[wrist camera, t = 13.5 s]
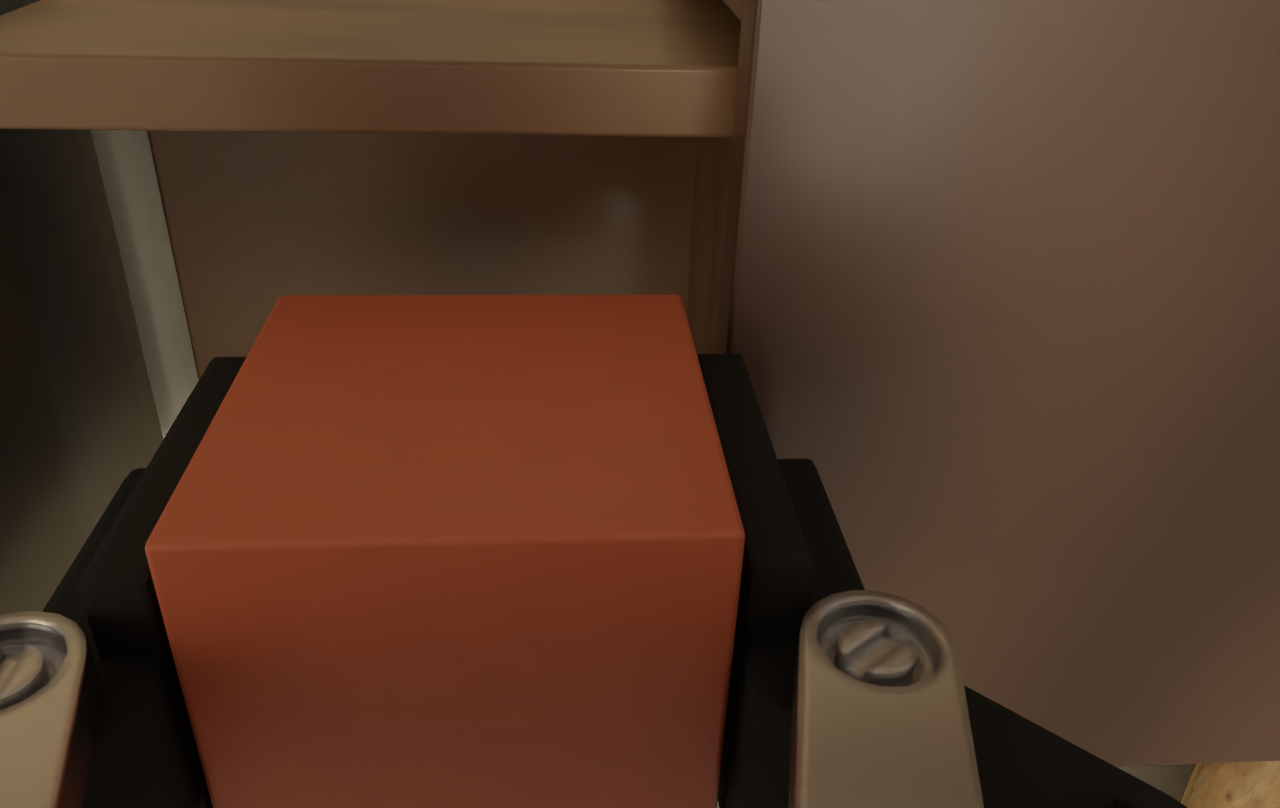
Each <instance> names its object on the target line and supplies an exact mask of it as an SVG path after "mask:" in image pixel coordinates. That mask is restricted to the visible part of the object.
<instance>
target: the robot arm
mask: <svg viewBox="0 0 1280 808" xmlns="http://www.w3.org/2000/svg"><path fill="white" fill-rule="evenodd" d="M697 357H698V360H699V364H700V368H701V371H702V375H703V379H704V383H705V386H706V390H707V394H708V398H709V401H710V405H711V409H712V412H713V416H714V420H715V424H716V427H717V431H718V435H719V439H720V442H721V446H722V450H723V454H724V457H725V461H726V465H727V468H728V472H729V476H730V480H731V483H732V487H733V491H734V495H735V498H736V502H737V506H738V509H739V513H740V517H741V521H742V524H743V528H744V532H745V544H744V554H743V563H742V572H741V582H740V591H739V601H738V610H737V620H736V629H735V638H734V648H733V657H732V667H731V676H730V685H729V695H728V704H727V714H726V723H725V732H724V742H723V751H722V761H721V770H720V780H719V789H718V802H719V808H1188V807H1186V806H1185V805H1183V804H1181V803H1180V802H1178V801H1177V800H1175V799H1174V798H1172V797H1171V796H1169V795H1167V794H1166V793H1164V792H1162V791H1160V790H1158V789H1156V788H1154V787H1153V786H1151V785H1149V784H1147V783H1145V782H1143V781H1141V780H1139V779H1138V778H1136V777H1134V776H1132V775H1130V774H1128V773H1126V772H1125V771H1123V770H1121V769H1119V768H1117V767H1115V766H1113V765H1112V764H1110V763H1108V762H1106V761H1104V760H1102V759H1100V758H1099V757H1097V756H1095V755H1093V754H1091V753H1089V752H1087V751H1086V750H1084V749H1082V748H1080V747H1078V746H1076V745H1074V744H1073V743H1071V742H1069V741H1067V740H1065V739H1063V738H1061V737H1060V736H1058V735H1056V734H1054V733H1052V732H1050V731H1048V730H1047V729H1045V728H1043V727H1041V726H1039V725H1037V724H1035V723H1034V722H1032V721H1030V720H1028V719H1026V718H1024V717H1022V716H1020V715H1019V714H1017V713H1015V712H1013V711H1011V710H1009V709H1007V708H1006V707H1004V706H1002V705H1000V704H998V703H996V702H994V701H993V700H991V699H989V698H987V697H985V696H983V695H981V694H980V693H978V692H976V691H974V690H972V689H970V688H968V687H967V686H965V685H964V682H963V676H962V670H961V664H960V658H959V652H958V649H957V647H956V644H955V641H954V639H953V636H952V634H951V633H950V632H949V630H948V629H947V628H946V627H945V626H944V625H943V623H942V622H941V621H940V620H939V619H938V618H937V617H936V616H934V615H933V614H931V613H930V612H929V611H927V610H926V609H924V608H923V607H922V606H920V605H918V604H916V603H913V602H911V601H909V600H907V599H904V598H902V597H900V596H897V595H892V594H888V593H883V592H879V591H869V590H865V589H864V586H863V584H862V581H861V579H860V576H859V574H858V571H857V569H856V566H855V564H854V561H853V559H852V556H851V554H850V551H849V549H848V546H847V544H846V541H845V539H844V536H843V534H842V531H841V528H840V526H839V523H838V521H837V518H836V516H835V513H834V511H833V508H832V506H831V503H830V501H829V498H828V496H827V493H826V491H825V488H824V486H823V483H822V481H821V478H820V476H819V473H818V471H817V468H816V466H815V465H814V463H813V461H812V460H810V459H808V458H800V459H777V457H776V454H775V451H774V448H773V445H772V442H771V439H770V436H769V433H768V430H767V428H766V425H765V422H764V419H763V416H762V413H761V410H760V407H759V404H758V401H757V399H756V396H755V393H754V390H753V387H752V384H751V381H750V378H749V375H748V372H747V370H746V367H745V364H744V361H743V358H742V356H741V354H697ZM245 359H246V357H214V358H213V359H212V360H211V361H210V363H209V365H208V366H207V368H206V370H205V371H204V373H203V375H202V376H201V378H200V380H199V381H198V383H197V385H196V386H195V388H194V390H193V391H192V393H191V395H190V396H189V398H188V400H187V401H186V403H185V405H184V406H183V408H182V410H181V411H180V413H179V415H178V416H177V418H176V420H175V421H174V423H173V425H172V426H171V428H170V430H169V431H168V433H167V435H166V436H165V438H164V440H163V441H162V443H161V445H160V446H159V448H158V450H157V451H156V453H155V455H154V456H153V458H152V460H151V461H150V463H149V465H148V466H147V468H138V469H135V470H132V471H131V472H130V473H129V474H128V476H127V477H126V478H125V479H124V481H123V482H122V484H121V486H120V487H119V489H118V490H117V492H116V494H115V495H114V497H113V499H112V500H111V502H110V503H109V505H108V507H107V508H106V510H105V511H104V513H103V515H102V516H101V518H100V519H99V521H98V523H97V524H96V526H95V527H94V529H93V531H92V532H91V534H90V535H89V537H88V539H87V540H86V542H85V543H84V545H83V547H82V548H81V550H80V551H79V553H78V555H77V556H76V558H75V560H74V561H73V563H72V564H71V566H70V568H69V569H68V571H67V572H66V574H65V576H64V577H63V579H62V580H61V582H60V584H59V585H58V587H57V588H56V590H55V592H54V593H53V595H52V596H51V598H50V600H49V601H48V603H47V604H46V606H45V608H44V609H43V611H27V612H12V613H7V614H3V615H0V808H213V806H212V802H211V798H210V795H209V791H208V787H207V783H206V779H205V776H204V772H203V768H202V764H201V761H200V757H199V753H198V749H197V745H196V742H195V738H194V734H193V730H192V726H191V723H190V719H189V715H188V711H187V708H186V704H185V700H184V696H183V692H182V689H181V685H180V681H179V677H178V674H177V670H176V666H175V662H174V658H173V655H172V651H171V647H170V643H169V639H168V636H167V632H166V628H165V624H164V621H163V617H162V613H161V609H160V605H159V602H158V598H157V594H156V590H155V586H154V583H153V579H152V575H151V571H150V568H149V564H148V560H147V556H146V552H145V545H146V542H147V540H148V538H149V537H150V535H151V533H152V531H153V529H154V527H155V526H156V524H157V522H158V520H159V518H160V516H161V514H162V513H163V511H164V509H165V507H166V505H167V503H168V502H169V500H170V498H171V496H172V494H173V492H174V490H175V489H176V487H177V485H178V483H179V481H180V479H181V477H182V476H183V474H184V472H185V470H186V468H187V466H188V465H189V463H190V461H191V459H192V457H193V455H194V453H195V452H196V450H197V448H198V446H199V444H200V442H201V440H202V439H203V437H204V435H205V433H206V431H207V429H208V428H209V426H210V424H211V422H212V420H213V418H214V416H215V415H216V413H217V411H218V409H219V407H220V405H221V404H222V402H223V400H224V398H225V396H226V394H227V392H228V391H229V389H230V387H231V385H232V383H233V381H234V379H235V378H236V376H237V374H238V372H239V370H240V368H241V367H242V365H243V363H244V361H245Z"/></svg>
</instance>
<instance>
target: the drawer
mask: <svg viewBox="0 0 1280 808" xmlns="http://www.w3.org/2000/svg"><path fill="white" fill-rule="evenodd" d="M740 32H741V21H740V20H739V19H738V18H737V17H736V15H735V14H734V13H733V12H732V11H731V10H730V9H729V7H728V6H727V5H726V4H725V3H724V2H723V1H722V0H0V615H3V614H7V613H12V612H27V611H43V609H44V608H45V606H46V604H47V603H48V601H49V600H50V598H51V596H52V595H53V593H54V592H55V590H56V588H57V587H58V585H59V584H60V582H61V580H62V579H63V577H64V576H65V574H66V572H67V571H68V569H69V568H70V566H71V564H72V563H73V561H74V560H75V558H76V556H77V555H78V553H79V551H80V550H81V548H82V547H83V545H84V543H85V542H86V540H87V539H88V537H89V535H90V534H91V532H92V531H93V529H94V527H95V526H96V524H97V523H98V521H99V519H100V518H101V516H102V515H103V513H104V511H105V510H106V508H107V507H108V505H109V503H110V502H111V500H112V499H113V497H114V495H115V494H116V492H117V490H118V489H119V487H120V486H121V484H122V482H123V481H124V479H125V478H126V477H127V476H128V474H129V473H130V472H131V471H132V470H135V469H138V468H147V466H148V465H149V463H150V461H151V460H152V458H153V456H154V455H155V453H156V451H157V450H158V448H159V446H160V445H161V443H162V441H163V436H162V432H161V428H160V423H159V419H158V415H157V410H156V406H155V402H154V398H153V393H152V389H151V385H150V381H149V376H148V372H147V368H146V364H145V359H144V355H143V351H142V346H141V342H140V338H139V334H138V329H137V325H136V321H135V317H134V312H133V308H132V304H131V300H130V295H129V291H128V287H127V282H126V278H125V274H124V270H123V265H122V261H121V257H120V253H119V248H118V244H117V240H116V236H115V231H114V227H113V223H112V218H111V214H110V210H109V206H108V201H107V197H106V193H105V189H104V184H103V180H102V176H101V172H100V167H99V163H98V159H97V154H96V150H95V146H94V142H93V137H92V133H91V130H142V131H147V133H148V137H149V142H150V147H151V152H152V157H153V162H154V166H155V171H156V176H157V181H158V186H159V191H160V195H161V200H162V205H163V210H164V215H165V220H166V224H167V229H168V234H169V239H170V244H171V249H172V253H173V258H174V263H175V268H176V273H177V277H178V282H179V287H180V292H181V297H182V302H183V306H184V311H185V316H186V321H187V326H188V331H189V335H190V340H191V345H192V350H193V355H194V360H195V364H196V369H197V374H198V379H199V380H200V378H201V376H202V375H203V373H204V371H205V370H206V368H207V366H208V365H209V363H210V361H211V360H212V359H213V358H214V357H247V355H248V354H249V352H250V350H251V348H252V346H253V344H254V342H255V341H256V339H257V337H258V335H259V333H260V331H261V330H262V328H263V326H264V324H265V322H266V320H267V318H268V317H269V315H270V313H271V311H272V309H273V307H274V306H275V304H276V302H277V300H278V298H279V297H280V296H283V295H679V296H681V298H682V301H683V304H684V308H685V312H686V316H687V319H688V323H689V327H690V330H691V334H692V338H693V342H694V345H695V349H696V353H697V354H715V352H716V340H717V327H718V314H719V301H720V288H721V275H722V263H723V250H724V237H725V224H726V211H727V199H728V186H729V173H730V160H731V147H732V135H733V122H734V109H735V96H736V83H737V70H738V58H739V45H740Z"/></svg>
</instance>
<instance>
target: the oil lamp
mask: <svg viewBox="0 0 1280 808" xmlns="http://www.w3.org/2000/svg"><path fill="white" fill-rule="evenodd" d="M1181 804H1183V805H1185V806H1186V807H1188V808H1280V761H1260V762H1235V763H1209V764H1196V766H1195V768H1194V770H1193V773H1192V775H1191V777H1190V779H1189V781H1188V784H1187V787H1186V789H1185V792H1184V795H1183V798H1182V801H1181Z"/></svg>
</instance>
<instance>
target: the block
mask: <svg viewBox="0 0 1280 808" xmlns="http://www.w3.org/2000/svg"><path fill="white" fill-rule="evenodd" d="M744 544H745V532H744V528H743V524H742V521H741V517H740V513H739V509H738V506H737V502H736V498H735V495H734V491H733V487H732V483H731V480H730V476H729V472H728V468H727V465H726V461H725V457H724V454H723V450H722V446H721V442H720V439H719V435H718V431H717V427H716V424H715V420H714V416H713V412H712V409H711V405H710V401H709V398H708V394H707V390H706V386H705V383H704V379H703V375H702V371H701V368H700V364H699V360H698V357H697V353H696V349H695V345H694V342H693V338H692V334H691V330H690V327H689V323H688V319H687V316H686V312H685V308H684V304H683V301H682V298H681V296H679V295H283V296H280V297H279V298H278V300H277V302H276V304H275V306H274V307H273V309H272V311H271V313H270V315H269V317H268V318H267V320H266V322H265V324H264V326H263V328H262V330H261V331H260V333H259V335H258V337H257V339H256V341H255V342H254V344H253V346H252V348H251V350H250V352H249V354H248V355H247V357H246V359H245V361H244V363H243V365H242V367H241V368H240V370H239V372H238V374H237V376H236V378H235V379H234V381H233V383H232V385H231V387H230V389H229V391H228V392H227V394H226V396H225V398H224V400H223V402H222V404H221V405H220V407H219V409H218V411H217V413H216V415H215V416H214V418H213V420H212V422H211V424H210V426H209V428H208V429H207V431H206V433H205V435H204V437H203V439H202V440H201V442H200V444H199V446H198V448H197V450H196V452H195V453H194V455H193V457H192V459H191V461H190V463H189V465H188V466H187V468H186V470H185V472H184V474H183V476H182V477H181V479H180V481H179V483H178V485H177V487H176V489H175V490H174V492H173V494H172V496H171V498H170V500H169V502H168V503H167V505H166V507H165V509H164V511H163V513H162V514H161V516H160V518H159V520H158V522H157V524H156V526H155V527H154V529H153V531H152V533H151V535H150V537H149V538H148V540H147V542H146V545H145V552H146V556H147V560H148V564H149V568H150V571H151V575H152V579H153V583H154V586H155V590H156V594H157V598H158V602H159V605H160V609H161V613H162V617H163V621H164V624H165V628H166V632H167V636H168V639H169V643H170V647H171V651H172V655H173V658H174V662H175V666H176V670H177V674H178V677H179V681H180V685H181V689H182V692H183V696H184V700H185V704H186V708H187V711H188V715H189V719H190V723H191V726H192V730H193V734H194V738H195V742H196V745H197V749H198V753H199V757H200V761H201V764H202V768H203V772H204V776H205V779H206V783H207V787H208V791H209V795H210V798H211V802H212V806H213V808H717V798H718V789H719V780H720V770H721V761H722V751H723V742H724V732H725V723H726V714H727V704H728V695H729V685H730V676H731V667H732V657H733V648H734V638H735V629H736V620H737V610H738V601H739V591H740V582H741V572H742V563H743V554H744Z"/></svg>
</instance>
